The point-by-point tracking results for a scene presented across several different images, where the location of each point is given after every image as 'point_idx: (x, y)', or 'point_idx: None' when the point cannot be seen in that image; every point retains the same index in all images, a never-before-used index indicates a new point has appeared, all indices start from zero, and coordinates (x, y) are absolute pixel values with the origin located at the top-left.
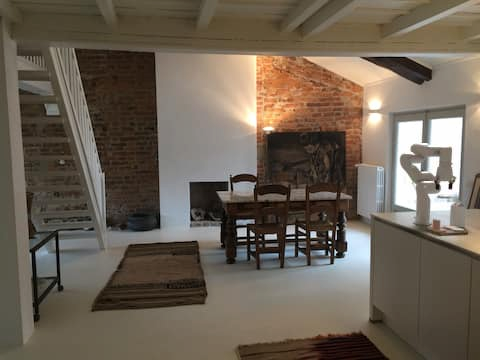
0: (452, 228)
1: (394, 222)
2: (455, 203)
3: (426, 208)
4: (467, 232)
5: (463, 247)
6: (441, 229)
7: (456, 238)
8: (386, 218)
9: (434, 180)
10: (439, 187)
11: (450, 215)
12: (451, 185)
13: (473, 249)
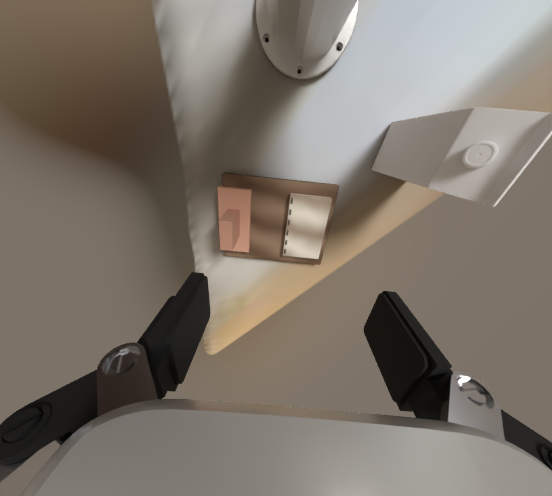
0: (293, 235)
1: None
2: (466, 166)
3: (305, 14)
4: (318, 263)
5: (208, 337)
6: (242, 239)
7: (247, 285)
8: None
9: (4, 464)
10: (199, 341)
11: (419, 121)
12: (387, 381)
13: (218, 348)
